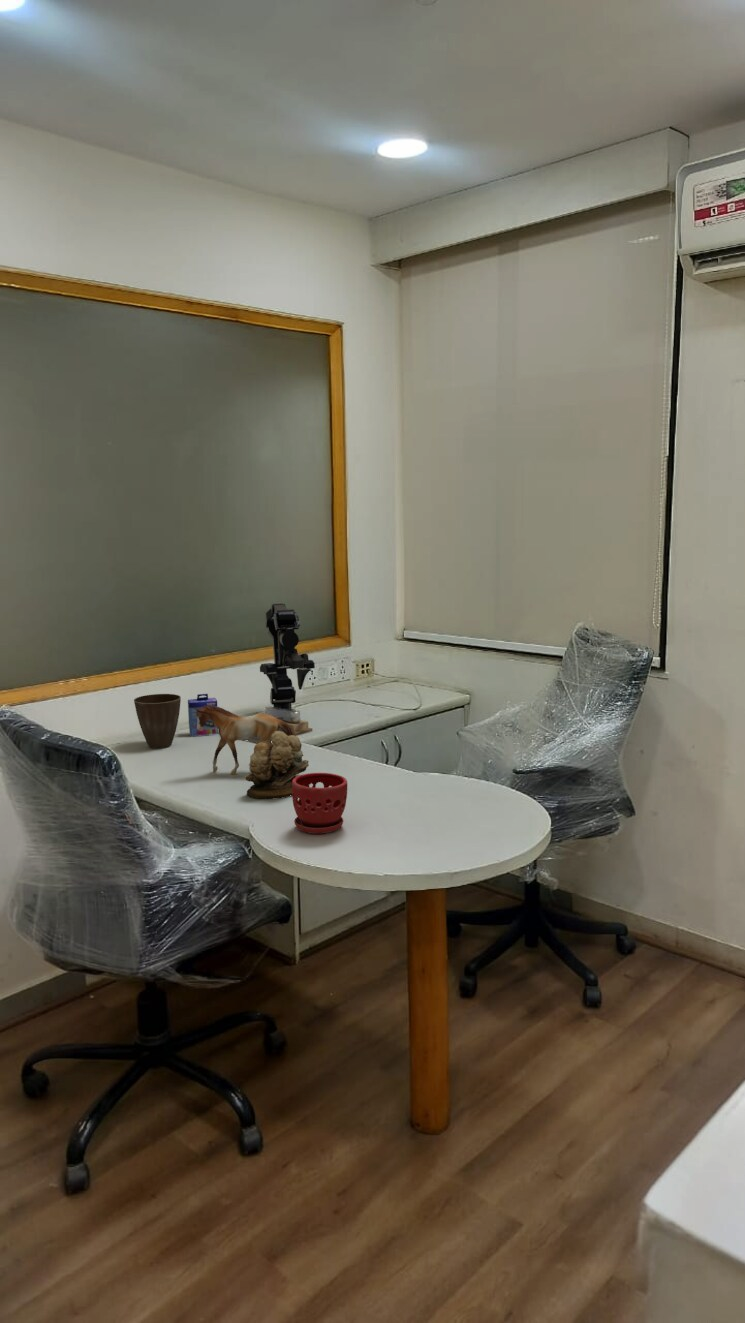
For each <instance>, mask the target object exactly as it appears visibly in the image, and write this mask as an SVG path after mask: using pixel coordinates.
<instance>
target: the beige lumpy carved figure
mask: <svg viewBox="0 0 745 1323" xmlns="http://www.w3.org/2000/svg"><path fill="white" fill-rule="evenodd" d="M271 741H272V744H273V748H272V749H271V747H270V746H269V745H268V744H266V743H262V742H260V743H258V744H257V743H255V745H254V747H253V753H252V754H251V755H250V759H249V764H248V766H249V767H248V769H249V771H250V773H247V774H246V775H245V778H244V779H245V780H246V781H247V782H252V783H253V785H251V786H250V787H249V788H248V789H247V791H246V795H247V797H249V798H251V799H253V800H274V799H273V798H278V799H283V798H282V797H285V798H287V797H286V796H290V795H292V781H293V779H294V778H295V777H297V776H298V775H299V774H301V773H304V772H306V771H307V768H308V767H309V760H308V759H303V756H302V754H303V751H302V742H301V740H300V738H299V737H298V735H297V736H294V735H290V736H287V735H286V734H285V733H284V732H282V731H276V732H274V733H273V734H272V736H271ZM303 755H304V754H303ZM302 786H305V785H302ZM290 797H291V796H290Z"/></svg>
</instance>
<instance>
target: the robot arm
mask: <svg viewBox="0 0 745 1323" xmlns="http://www.w3.org/2000/svg"><path fill="white" fill-rule="evenodd" d="M264 624H265V628H266V629H267V634H268V635H269V636H270V638H271V639H272V649H273V650H272V651H273V659H274V660H273V661H274V662H268V663H267V662H266V663H261V664H260V666H259V672H260V673H263V675H266V677H267V678H268V680H269V682H270V684H271V688H270V694H269V702H270V704H271V705H272V707H277V708H283V709H288V710H293V709H292V704H295V703H296V694H297V691H296V689H295V687H294V686H293V681H292V679H291V678H290V677H289V676H288V670H287V669H291V670H296V678H297V686H298V687H297V688H298V690H302V688H303V686H304V683H305V680H306V679H305V678H306V676H307V675H308V673H310V672H312V669H315V661H314V660H312V659H309V654H308V653H301V654H298V649H297V648H296V647H297V645H298V644H299V642H300V639H299V635H298V634H297V633H296V632H295V630H299V628H300V626H301V623H300V619H299V615H298V613H297V612H296V611H295V609H291V608H289V609H288V608H287V607H286V604H285V603H272V604H271V606H270V608H269V610H267V611H266V612H265V618H264Z"/></svg>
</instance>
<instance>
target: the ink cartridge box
mask: <svg viewBox="0 0 745 1323" xmlns="http://www.w3.org/2000/svg"><path fill="white" fill-rule="evenodd" d="M207 705H211V706H216V707H218V700H217V698H216V697H209V694H208V693H203V694H202V693H200V694H199V693H198V694H197V698H193V699H192V698H191V699H190V698H189V699H187V712H188V715H187V716H188V729H189V736H190V737H191V736H193V737H198V736H197V735H205V736H210V735H209V734H218V735H219V729H218V728H217V727H216V726H215V724H214V723H213V721H212V720H211V719H209V720H208V721H207V722H206V724H205V725H204V729H203V730H202V731H199V730H198V729H197V716H196V711H197V710H195V709H194V708H198V709H199V708H201V707H203V706H207Z"/></svg>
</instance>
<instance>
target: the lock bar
mask: <svg viewBox="0 0 745 1323" xmlns="http://www.w3.org/2000/svg"><path fill="white" fill-rule="evenodd" d="M265 714H268V715H271V716H273V717H275V718H278V717H283V720H285V721H291V722H293V723H297V722H300V720H301V711H300V710H293V709H292V710H288V709H283V708H277V707H273V706H270V705H269V706H268V705H267V706H266V707H265Z"/></svg>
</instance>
